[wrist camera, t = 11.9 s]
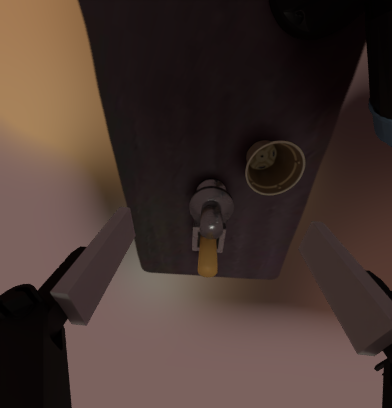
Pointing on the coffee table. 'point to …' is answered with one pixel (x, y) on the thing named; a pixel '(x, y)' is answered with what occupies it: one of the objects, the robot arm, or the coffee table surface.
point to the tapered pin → (207, 257)
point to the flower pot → (274, 166)
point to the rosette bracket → (210, 212)
